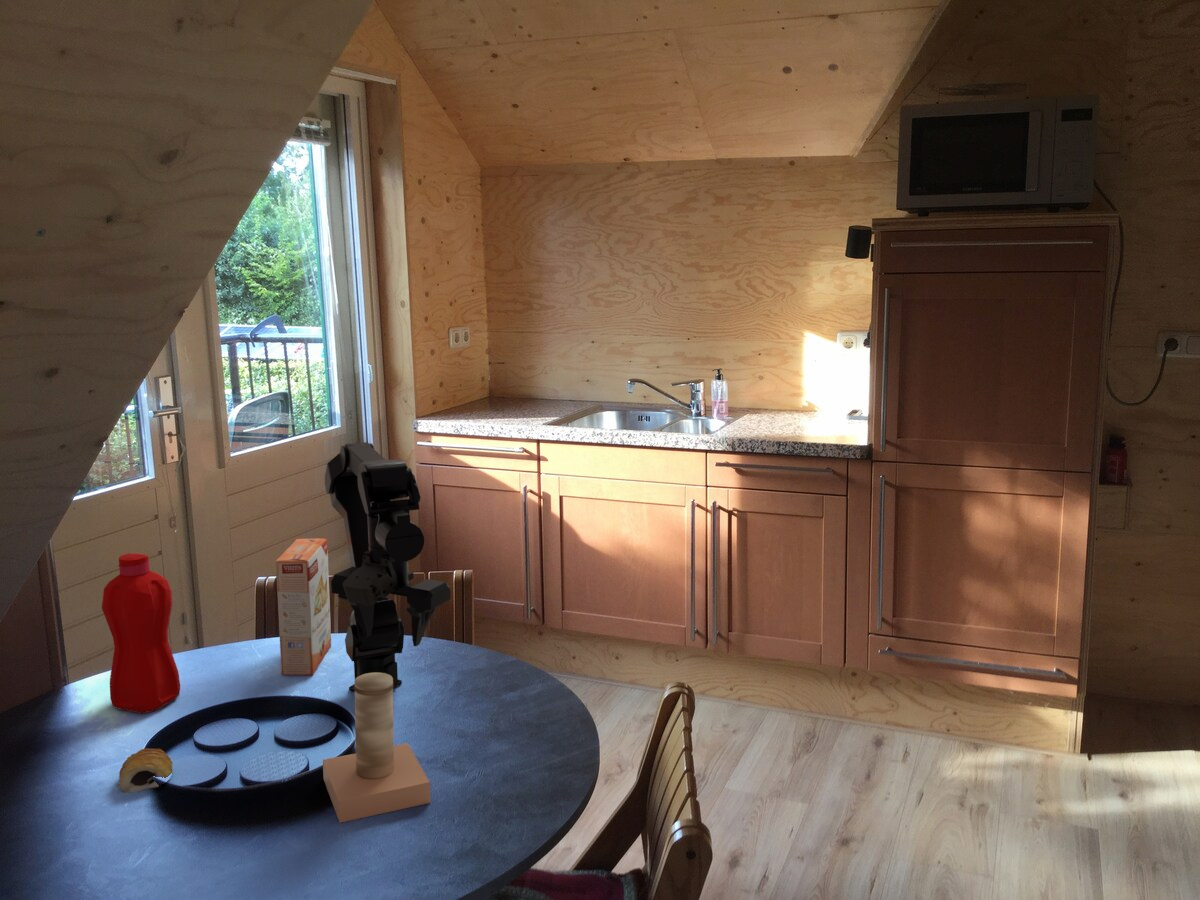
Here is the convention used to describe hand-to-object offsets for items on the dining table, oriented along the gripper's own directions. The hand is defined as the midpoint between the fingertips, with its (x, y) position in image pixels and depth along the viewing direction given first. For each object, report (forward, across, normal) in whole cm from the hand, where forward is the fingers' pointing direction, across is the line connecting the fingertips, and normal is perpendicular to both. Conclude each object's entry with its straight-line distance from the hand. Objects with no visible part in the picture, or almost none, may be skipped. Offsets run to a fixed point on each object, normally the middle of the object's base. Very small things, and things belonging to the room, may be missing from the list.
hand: (392, 640), depth 161 cm
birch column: (+10, +11, -19) cm, 24 cm away
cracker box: (+13, -28, +12) cm, 33 cm away
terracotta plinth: (+13, +11, -19) cm, 25 cm away
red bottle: (+13, -40, -12) cm, 44 cm away
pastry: (+13, -20, -30) cm, 39 cm away
